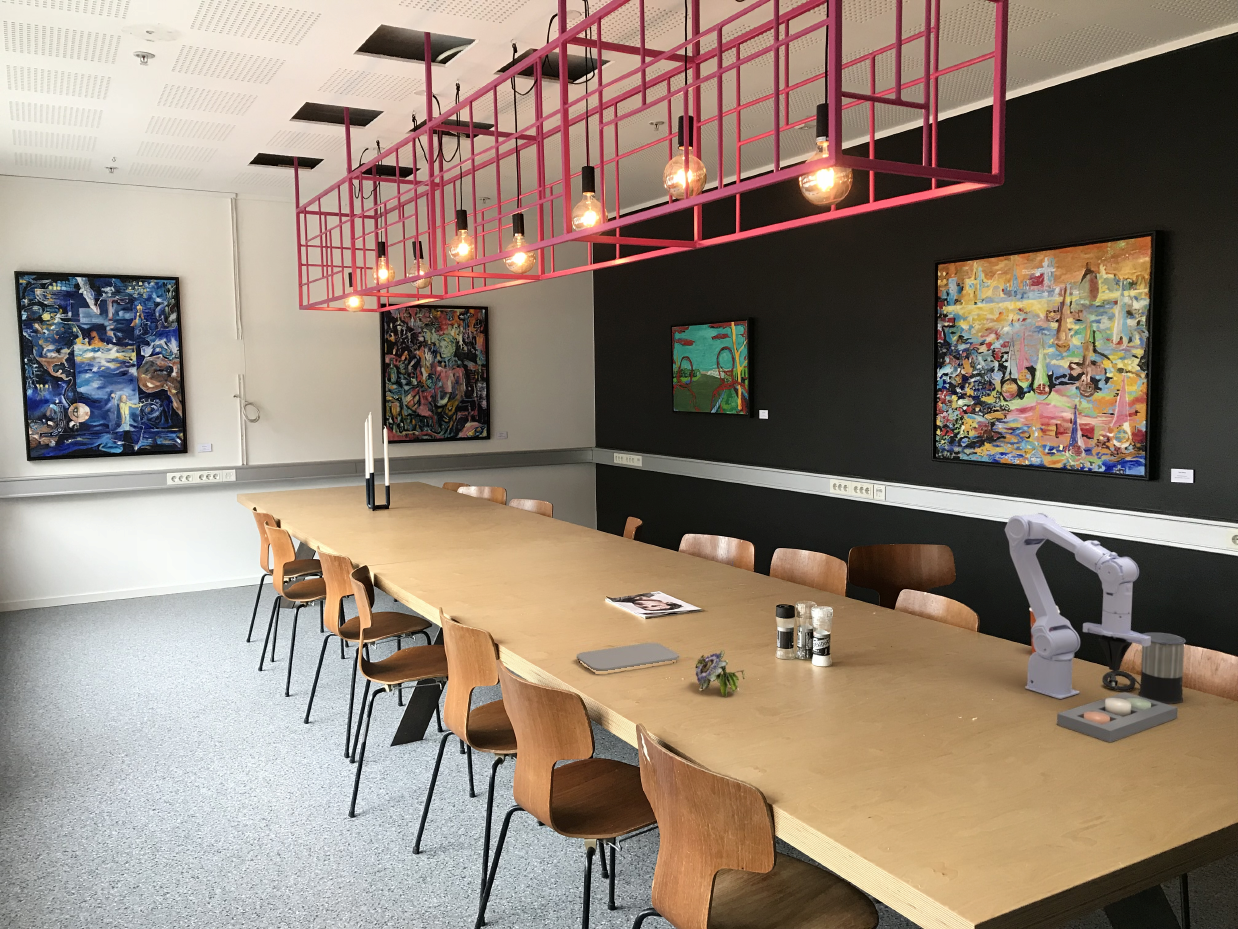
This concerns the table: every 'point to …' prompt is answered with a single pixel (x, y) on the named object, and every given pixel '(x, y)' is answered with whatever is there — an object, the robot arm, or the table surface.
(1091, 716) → the button terracotta
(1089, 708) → the button board
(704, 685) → the passion flower
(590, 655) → the tablet
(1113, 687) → the milk frother
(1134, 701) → the button sage
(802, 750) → the table surface
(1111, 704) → the button cream
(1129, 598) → the robot arm
